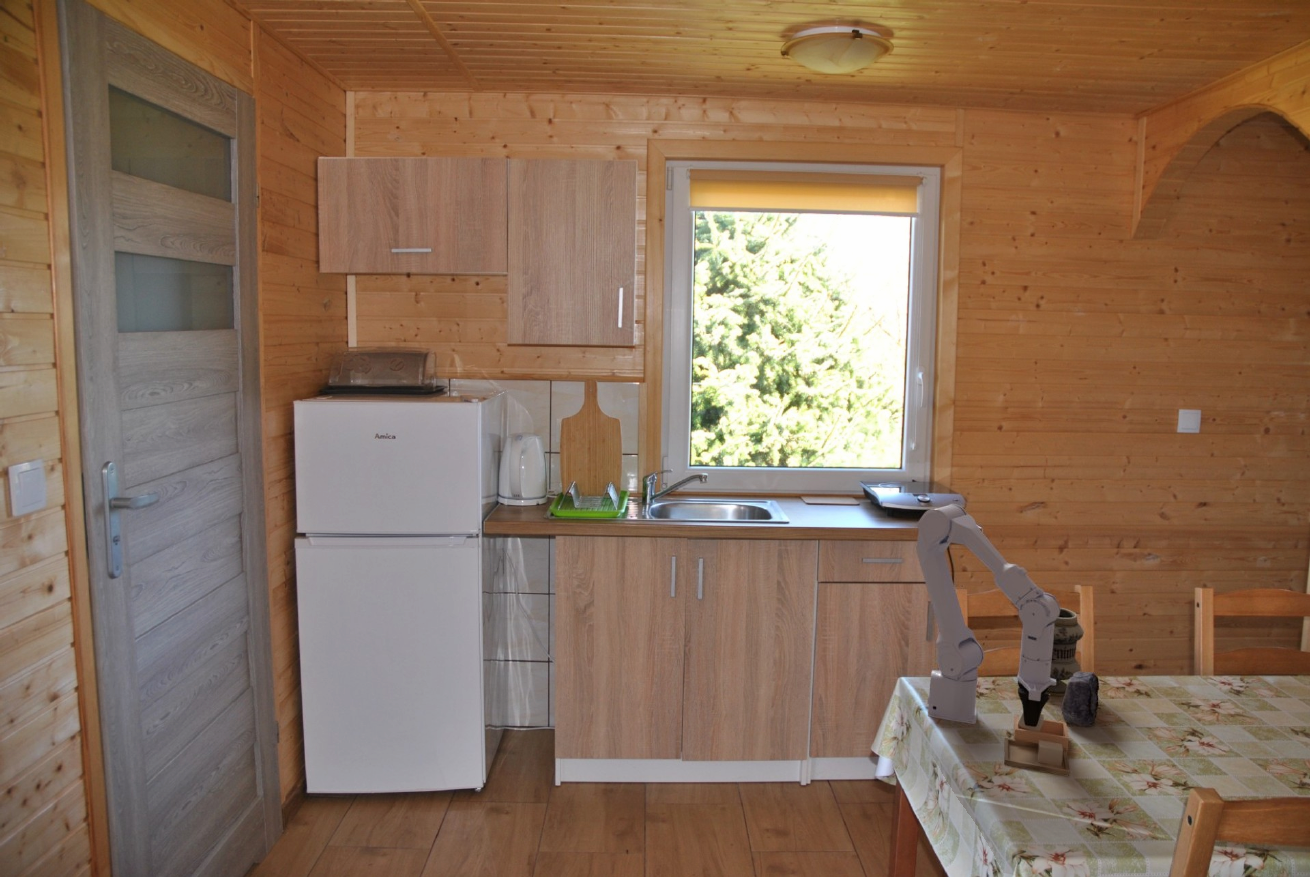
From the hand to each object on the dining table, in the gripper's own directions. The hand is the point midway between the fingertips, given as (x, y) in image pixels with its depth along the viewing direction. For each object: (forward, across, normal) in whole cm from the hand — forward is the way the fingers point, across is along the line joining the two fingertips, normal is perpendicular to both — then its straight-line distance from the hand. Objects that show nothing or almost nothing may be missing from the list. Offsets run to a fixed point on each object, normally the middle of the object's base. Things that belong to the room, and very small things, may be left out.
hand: (1030, 722), depth 181 cm
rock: (+4, +14, -10) cm, 18 cm away
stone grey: (+1, 0, 0) cm, 1 cm away
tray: (+4, -9, -1) cm, 10 cm away
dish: (+4, 0, -2) cm, 4 cm away
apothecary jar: (+4, +31, -5) cm, 32 cm away
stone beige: (+3, -9, -3) cm, 10 cm away
